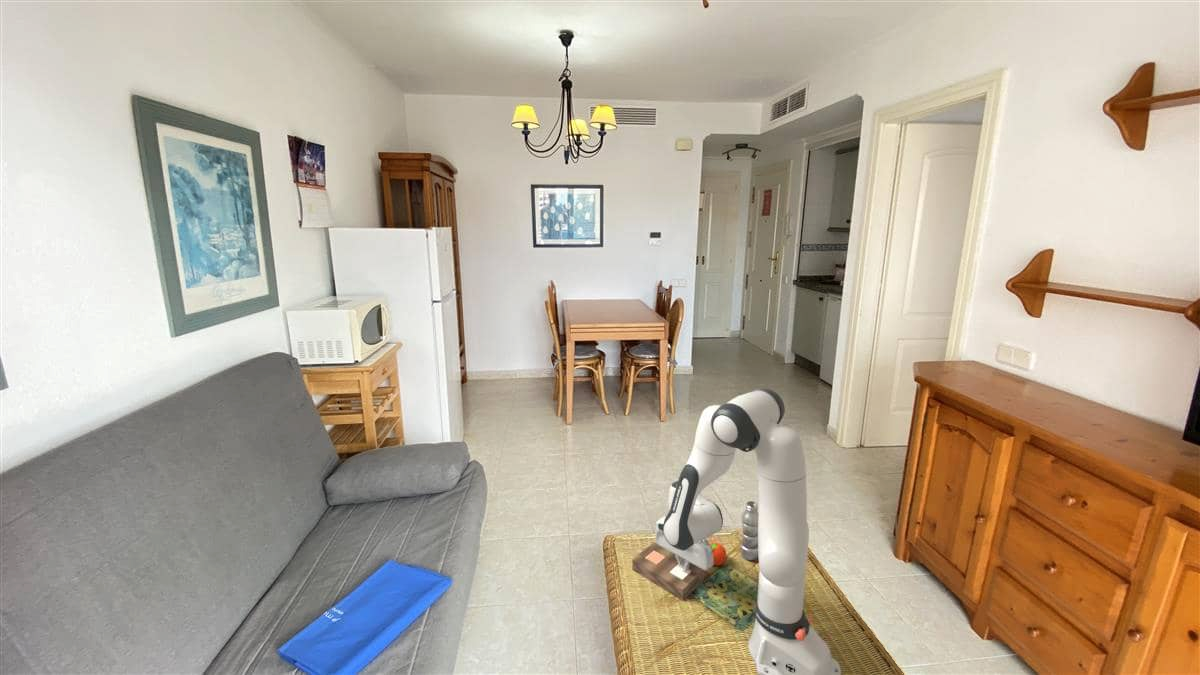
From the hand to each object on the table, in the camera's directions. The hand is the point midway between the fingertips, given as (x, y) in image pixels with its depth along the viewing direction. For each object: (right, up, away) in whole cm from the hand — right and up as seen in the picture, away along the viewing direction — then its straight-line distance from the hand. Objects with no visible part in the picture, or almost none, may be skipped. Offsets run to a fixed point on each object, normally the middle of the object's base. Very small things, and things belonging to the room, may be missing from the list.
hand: (683, 567), depth 152 cm
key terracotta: (-8, -3, +8) cm, 12 cm away
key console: (-4, -5, +5) cm, 8 cm away
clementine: (+12, -3, +9) cm, 16 cm away
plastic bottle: (+25, -2, +12) cm, 28 cm away
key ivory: (-1, -4, +1) cm, 4 cm away
